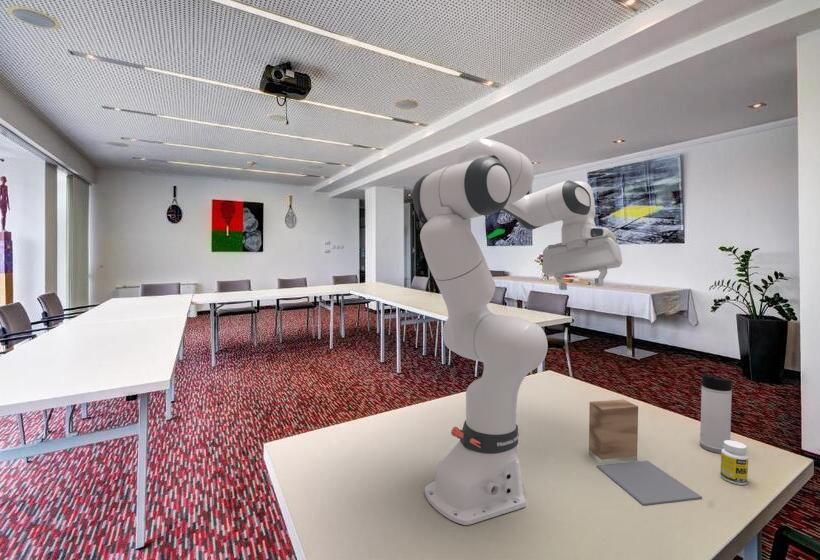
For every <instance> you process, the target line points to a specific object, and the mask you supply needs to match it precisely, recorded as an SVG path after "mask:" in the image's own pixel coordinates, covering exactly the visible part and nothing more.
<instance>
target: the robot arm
mask: <svg viewBox="0 0 820 560" xmlns="http://www.w3.org/2000/svg"><path fill="white" fill-rule="evenodd" d="M461 150H462V151H460V152H461V153H460V154H459V158H458V163H457V164H456V163H455V164H450V165H446V166H445V167H442V168H440V169H438V170H435V171H431V172H428V173H426V174H425V175H423V176H421V177H420V178H419V179H418V180H417V181H416V182H415V183H414V185H413V188H412V203H413V208H414V210H415V213H416V215H417V218H418V220H419V222H420V223H421V224H422V225H423V226H422V228H421V230H420V234H419V238H420V239H419V240H420V243H421V248H422V252H423V253H424V258H425V260H426V263H427V267H429V271H430V273H431V276H432V277H433V279H434V281H435V283H436V286H437V288H438V290H439V292H440V294H441V297H442V299H443V301H444V303H445V306H446V309H447V310H446V311H447V314H448V315H447V319H446V320H445V322H444V324H443V327H442V340H443V343H444V346H446V348H447V349H448V350H450V351H452V352H454V353H455V354H457V355H458V356H460V357H463V358H466V359H470V360H473V361H478V362H481V363H482V364H483V370H482V371H483V372H482V375H481V377H480V378H477V379H475V380H474V381H472V382H471V383H470V384H469V385H468V386H467V388H466V390H465V391H466V392H465V420H464V423H463V426H462V429H460V428H458V427H457V426H453V427H452V428H451V430H450V434H451V435H452V436H453V437H455V438H456V439H459V441H458V442H457V443H456V444H455V446H454V447H453V448H451V450H450V451H449V453H447V455H446V456H445V457H444V458H443V459H442V460H441V461H440V463H438V465H437V468H436V472H435V473H436V474H435V479H434V480H433V481H432V482H430V483H429V484H428V483H427V485H425V487H424V496H425V498H426V500H427V502H428V503H429V504H430V505H431V506H432V507H433V508H434V509H435V510H436V511H437V512H438V513H440V514H441V515H442V516H444V517H445V518H447V519H449V520H450V521H453V522H454V523H457V524H459V525H460V524H461V525H463V526H470V525H472V524H476V523H479V522H482V521H485V520H488V519H491V518H495V517H498V516H501V515H504V514H507V513H510V512H514V511H517V510H521V509H524V508H525V507H526V506H527V502H526V498H525V496H524V491H525V490H524V485H523V481H522V474H521V473H522V471H521V465H520V459H519V455H518V449H517V448H518V447H517V446H518V444H519V426H518V424H517V407H518V405H517V404H518V394H519V389H520V386H521V384H522V382H523V380H525V378H526V376H527V375H529V373H531V372H533V371H535V370H536V369H537V368H539V367H540V365H542V363H543V362H544V360H545V359H546V356H547V353H548V347H549V345H548V344H549V343H548V339H547V335H546V332H545V331H544V330H543V327H541V326H540V325H539V324H537V323H534V322H532V321H530V320H527V319H524V318H522V317H519V316H511V315H510V316H509V315H502V314H495V313H493V312H492V311H490V309H489V308H488V304H489V303H490V302H491V301H492V299H493V297H494V295H495V292H496V283H495V280H494V277H493V275H492V273H491V271H490V268H489V265H488V263H487V260H486V258H485V257H484V256H485V255H484V254H483V252H482V249H481V247H480V244H479V243H478V241H477V239H476V238H475V236H474V233H473V232H472V226H471V225H472V224H471V223H472V222H471V221H472V220H471V219H474V218H477V217H482V216H490V215H492V214H495V213H497V212H500V211H503V212H504V213H507V214H508V215H509V216H510V217H513V218H514V219H516V220H517V222H518V223H519V224H520V225H521V226H522V227H524V228H525V229H527V230H531V231H532V230H536V229H538V228H541V227H543V226H546V225H549V224H553V223H556V222H560V221H562V226H561V242H558V243H555V244H554V243H553V244H549V245H547V246H546V247H545V248H544V249H543V251H542V257H543V259H542V267H541V271H542V273H543V274H544V276H547V277H548V278H549V277H550V278H552V277H554V279H555V281H556V282H557V283H558V290H560V291H566V290H567V289H568V283H566V282H565V281H564V282H563V280H562V279H564V276H566V275H567V276H568V275H573V274H580V273H589V272H594V271H598V272H600V273H599V275H598V277H596V278H595V277H594V285H595V286H596V287H603V286H604V279H605V278H606V276H607V274H608V269H616V268H620V267H621V266H622V264H623V256H622V251H621V248H620V245H619V244H618V243H617V236H616V235H615V233H614V232H613V231H612V230H610V229H609V228H606V227H597V226H596V222H595V217H596V203H595V197H594V193H593V189H592V187H591V185H590V184H589V183H588V182H585V181H582V180H581V181H579V180H576V181H572V180H565V181H562V182H558V183H556V184H553V185H550V186H548V187H545V188H543V189H540V190H538V191H535V192H531V193H528V192H529V191H530V189H531V187H532V185H533V183H534V178H535V177H534V176H535V172H534V166H533V164H532V162H531V160H530V159H529V157H527V156H526V155H525V154H524V153H522V152H520V151H519V150H517V149H515V148H514V147H512V146H510V145H507V144H506V143H502V142H500V141H497V140H494V139H489V138H483V137H482V138H481V137H479V138H476V139H473V140H471V141H470V142H468V143H467V144H466V145H465V146H464V148H462V149H461ZM567 291H568V290H567Z"/></svg>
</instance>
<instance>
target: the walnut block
mask: <svg viewBox="0 0 820 560" xmlns="http://www.w3.org/2000/svg"><path fill="white" fill-rule="evenodd" d="M588 416H589V417H588V418H589V420H588V423H589V424H588V427H589V428H588V455H589V456H590V457H591V458H592V459H594V460H595V461H597V462H598V463H599V465H605V464H616V463H626V462H636V461H638V442H639V441H638V439H639V436H638V435H639V432H638V431H639V429H638V428H639V406H638V405H636V404H634V403H632V402H630V401H629V400H627V399H625V398H624V399H610V400H598V401H597V400H596V401H589V415H588Z"/></svg>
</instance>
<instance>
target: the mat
mask: <svg viewBox="0 0 820 560" xmlns="http://www.w3.org/2000/svg"><path fill="white" fill-rule="evenodd" d="M596 468H597V469H598V470H600V471H601V472H602V473H603V474H605V475H606V476H607V477H608V478H610V479H611V481H613V482H614V483H615V484H616V485H618V486H619V487H620V488H621V489H623V491H625V492H626V493H628V494H629V495H630V496H631V497H632V498H633V499H634V500H636V501H637V502H638V503H639V504H640V505H642V506H643V507H644V506H651V505H662V504H669V503H670V504H671V503H676V502H685V501H694V500H702V499H703V496H701V495H700V494H699V493H697V492H695V491H694V490H693V489H691V487H690V488H689V487H688V486H686V485H685V484H684V483H682V482H680V481H678V479H676V478H674V477H673V476H671V475H670V474H668V473H667V472H665V471H664V470H662V469H661V468H659V467H658V466H657V465H655V464H653V463H652V462H650V461H649V460H648V459H647V460H637V461H630V462H619V463H609V464H597V465H596Z"/></svg>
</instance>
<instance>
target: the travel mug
mask: <svg viewBox="0 0 820 560" xmlns="http://www.w3.org/2000/svg"><path fill="white" fill-rule="evenodd" d="M732 383H733V381H732V379H730V378H723V377H721V376H719V375H713V374H705V373H703V374H702V375H701V395H700V396H701V397H700V398H701V401H700V433H699V436H700V437H699V438H700V439H699V446H700V447H701V448H703V449H704V450H706V451H708V452H712V453H714V454H715V453H716V454H720V455H721V450H722V449H723V448H724V441H725V440H731V432H732V431H731V429H732V428H731V427H732V426H731V425H732V398H733V397H732V392H733V389H732V386H733V384H732Z"/></svg>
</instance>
